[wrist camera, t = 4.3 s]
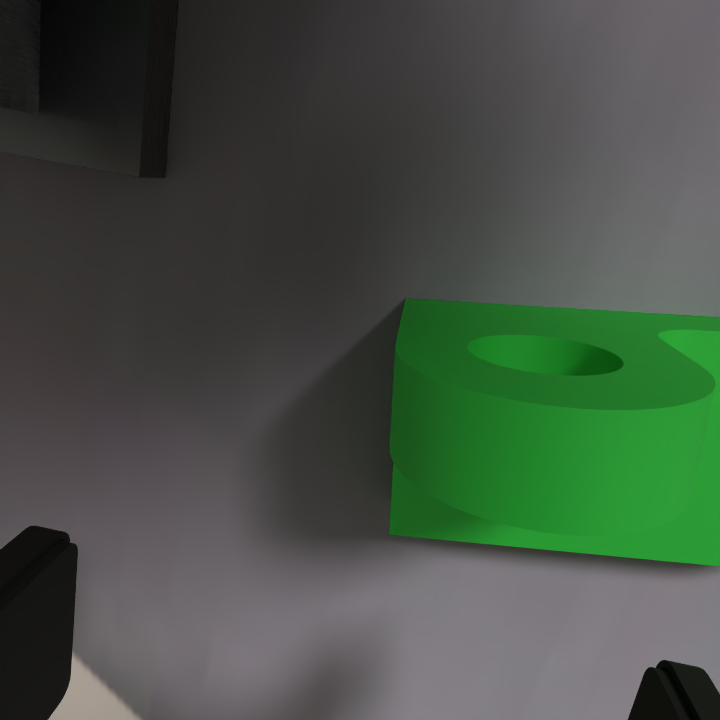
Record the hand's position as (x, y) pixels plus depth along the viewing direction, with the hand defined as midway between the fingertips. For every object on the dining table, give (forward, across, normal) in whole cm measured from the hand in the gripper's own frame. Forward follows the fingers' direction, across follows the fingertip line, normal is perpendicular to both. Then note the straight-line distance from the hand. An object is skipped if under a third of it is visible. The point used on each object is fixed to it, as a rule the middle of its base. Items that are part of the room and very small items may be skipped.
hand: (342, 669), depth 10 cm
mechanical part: (+8, -6, -3) cm, 11 cm away
